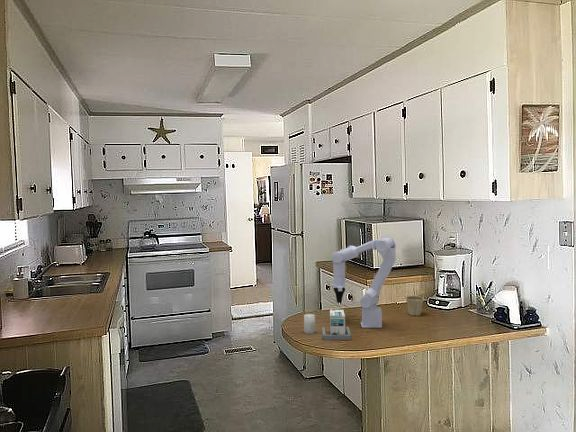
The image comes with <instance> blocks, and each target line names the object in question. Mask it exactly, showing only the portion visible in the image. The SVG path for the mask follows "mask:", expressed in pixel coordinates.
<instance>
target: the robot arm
mask: <svg viewBox="0 0 576 432" xmlns="http://www.w3.org/2000/svg"><path fill="white" fill-rule="evenodd" d="M396 248H397V244H396V242H395V241H394V239H393V238H392V237H390V236H386V237H384V238H383V237H382V238H377V239H374V240H373V239H372V240H369V241H368V242H365V243H363V244H361V245H358V246H355V245H351V244H350V245H348V246H347V247H346V248H341V249H339V251H334V252H333V253H332V255H331V261H332V263H333V264H332V265H333V272H332V273H333V279H332V280H333V281H332V283H330V286H331V287H333V291H334V293H335V299H336V303H337V304H339V303H340V304H341V303H342V302H343V297H344V293H346V288H345V287H346V261H349V260H352V259H354V258H357V257H359V255H360V253H363V252H366V251H368V250H373V251H377V253H379V254H380V256H381V257H382V262H381V264H380V266H379V269H378V270H377V273H376V274H375V276H374V278H373V280H372V282H371V284H370V286H369V288H368V289H367V290H366V291H365V293H364V295H362V296H361V297H360V299H359V304H360V306H361V321H360V325H361V328H364V329H365V328H369V329H370V328H372V329H373V328H383V313H382V312H383V311H382V308H381V307H378V305H377V304H379V301H380V295H381V290H382V288H383V287H384V284H385V282H386V281H387V278H388V276H389V275H390V272H391V270H392V269H393V266H394V264H395V263H396V261H397V260H396V258H397V256H396V255H397V253H396Z"/></svg>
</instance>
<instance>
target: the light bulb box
mask: <svg viewBox="0 0 576 432" xmlns="http://www.w3.org/2000/svg"><path fill="white" fill-rule="evenodd" d="M329 329H330V331H329V335H346V314H345V310H344V309H329Z"/></svg>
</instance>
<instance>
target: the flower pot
mask: <svg viewBox="0 0 576 432" xmlns="http://www.w3.org/2000/svg"><path fill="white" fill-rule="evenodd" d="M405 299H406V303H407V313H408V315H410V316H416V317H417V316H418V317H419V316H421V314H422V309H423V304H424V303H423V302H424V300H425V298H424V297H423V296H419V295H418V296H417V295H409V296H406V297H405Z"/></svg>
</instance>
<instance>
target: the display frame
mask: <svg viewBox="0 0 576 432" xmlns="http://www.w3.org/2000/svg"><path fill="white" fill-rule="evenodd" d="M321 335H322V336H321V337H322V341H351V340H352V334H351V330H350V328H349V326H345V335H330V334H326V329H325V326H322V327H321Z"/></svg>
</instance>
